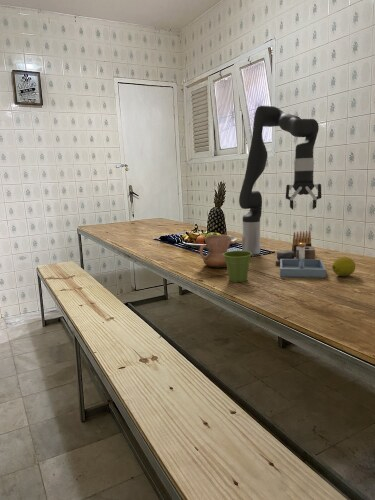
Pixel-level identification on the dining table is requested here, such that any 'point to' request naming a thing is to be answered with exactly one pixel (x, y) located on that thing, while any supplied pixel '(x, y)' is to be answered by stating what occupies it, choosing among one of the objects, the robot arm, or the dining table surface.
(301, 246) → the lock pin
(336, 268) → the lemon
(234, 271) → the plant pot
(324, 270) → the tray
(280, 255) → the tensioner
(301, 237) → the ammunition clip
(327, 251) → the dining table surface
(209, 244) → the ceramic jug
